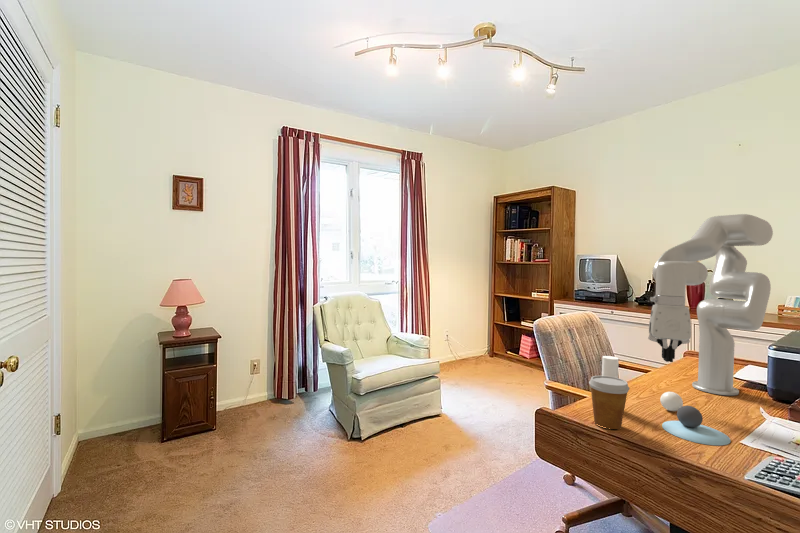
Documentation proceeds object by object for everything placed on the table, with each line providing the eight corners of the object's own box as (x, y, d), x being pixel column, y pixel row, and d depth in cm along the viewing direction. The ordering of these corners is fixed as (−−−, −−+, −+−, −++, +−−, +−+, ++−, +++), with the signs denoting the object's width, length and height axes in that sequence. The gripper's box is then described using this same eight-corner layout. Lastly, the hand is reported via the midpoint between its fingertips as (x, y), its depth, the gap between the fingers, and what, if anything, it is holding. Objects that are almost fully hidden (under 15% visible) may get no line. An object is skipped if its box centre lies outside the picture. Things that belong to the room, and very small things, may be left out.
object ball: (689, 399, 103) (695, 418, 99) (703, 408, 104) (710, 427, 100) (669, 405, 107) (675, 424, 103) (683, 415, 108) (689, 433, 104)
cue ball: (672, 391, 113) (674, 411, 111) (686, 392, 114) (688, 412, 113) (654, 390, 118) (656, 409, 116) (668, 391, 119) (670, 411, 118)
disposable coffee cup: (621, 420, 107) (622, 376, 107) (633, 435, 98) (635, 387, 98) (583, 416, 109) (585, 373, 109) (592, 430, 100) (594, 384, 100)
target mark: (676, 417, 110) (676, 416, 110) (739, 437, 98) (739, 436, 98) (651, 428, 102) (651, 427, 102) (716, 450, 91) (716, 449, 91)
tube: (619, 410, 114) (620, 359, 114) (603, 409, 115) (604, 358, 115) (614, 405, 118) (615, 356, 118) (598, 404, 119) (600, 355, 119)
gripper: (645, 301, 118) (643, 361, 119) (704, 304, 114) (702, 366, 114) (638, 299, 126) (637, 355, 126) (693, 301, 121) (691, 360, 121)
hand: (668, 360), depth 120 cm, fingers closed
